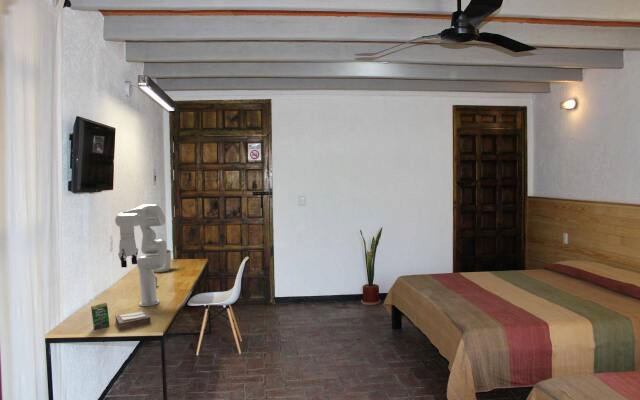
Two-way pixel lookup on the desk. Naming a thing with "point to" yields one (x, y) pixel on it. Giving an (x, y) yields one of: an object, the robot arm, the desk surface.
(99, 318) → the coffee box
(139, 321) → the stand
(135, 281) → the desk surface
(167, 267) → the canister
